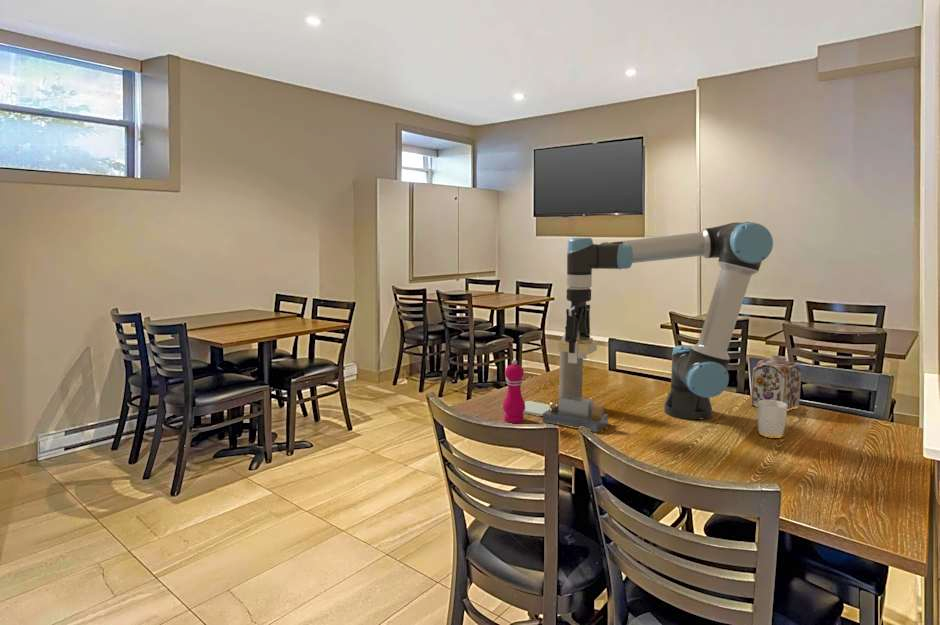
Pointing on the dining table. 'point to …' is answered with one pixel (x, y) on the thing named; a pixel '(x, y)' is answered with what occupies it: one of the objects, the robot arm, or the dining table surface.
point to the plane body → (576, 413)
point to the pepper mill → (514, 394)
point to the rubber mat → (535, 408)
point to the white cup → (771, 417)
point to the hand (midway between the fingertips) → (577, 360)
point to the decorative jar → (776, 381)
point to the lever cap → (580, 345)
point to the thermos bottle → (570, 375)
